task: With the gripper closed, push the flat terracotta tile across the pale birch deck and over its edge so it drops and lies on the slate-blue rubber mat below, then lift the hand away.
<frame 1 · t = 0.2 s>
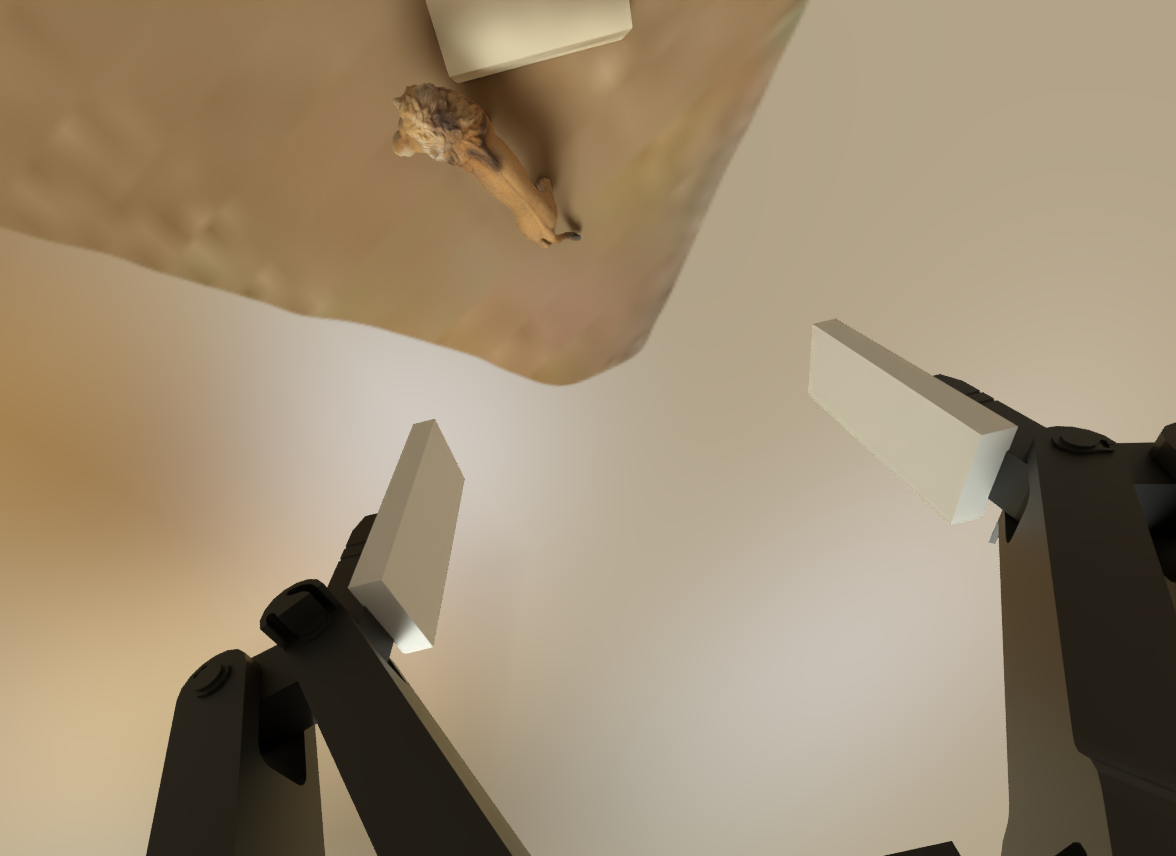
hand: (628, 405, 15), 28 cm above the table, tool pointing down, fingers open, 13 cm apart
lion figurine: (499, 175, 35), on the table
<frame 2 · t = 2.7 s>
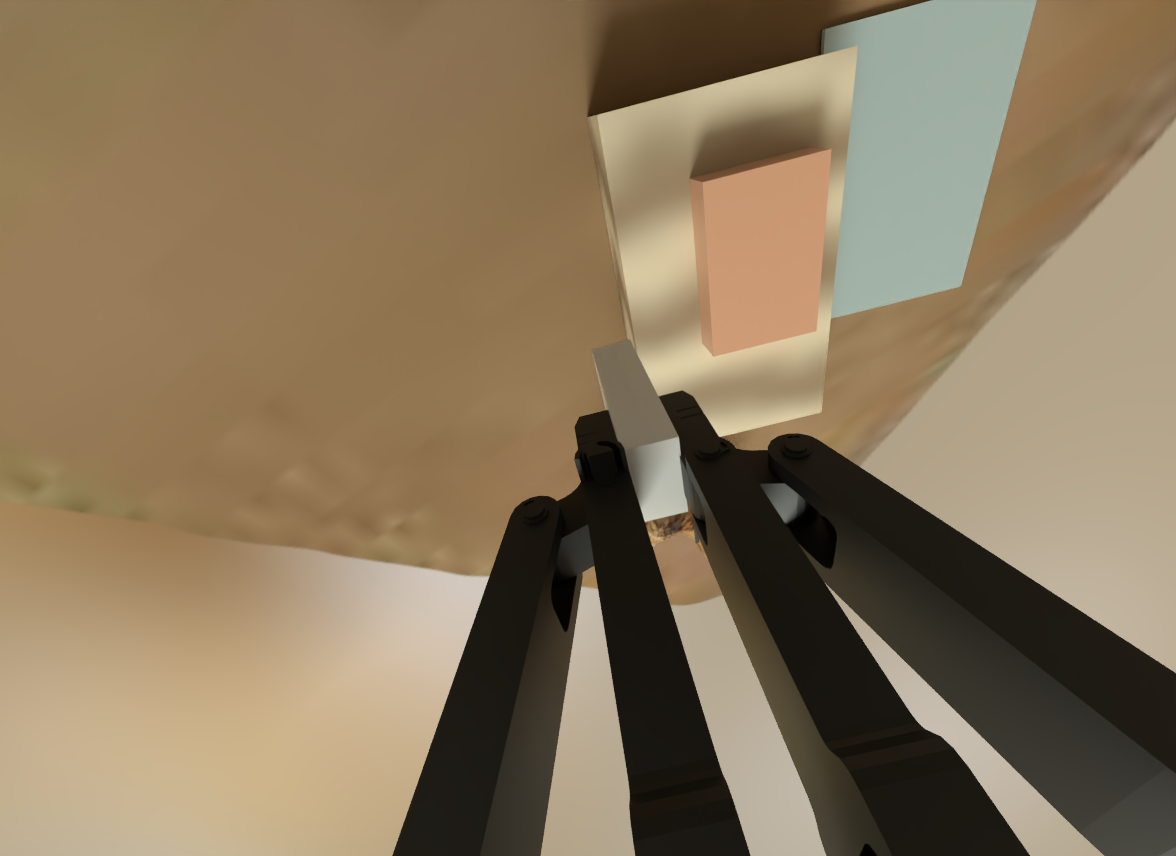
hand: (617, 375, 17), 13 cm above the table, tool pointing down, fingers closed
deck: (709, 276, 29), on the table
lion figurine: (668, 479, 39), on the table
tile: (749, 255, 24), point 4 cm above the table, touching deck
mat: (900, 178, 27), on the table
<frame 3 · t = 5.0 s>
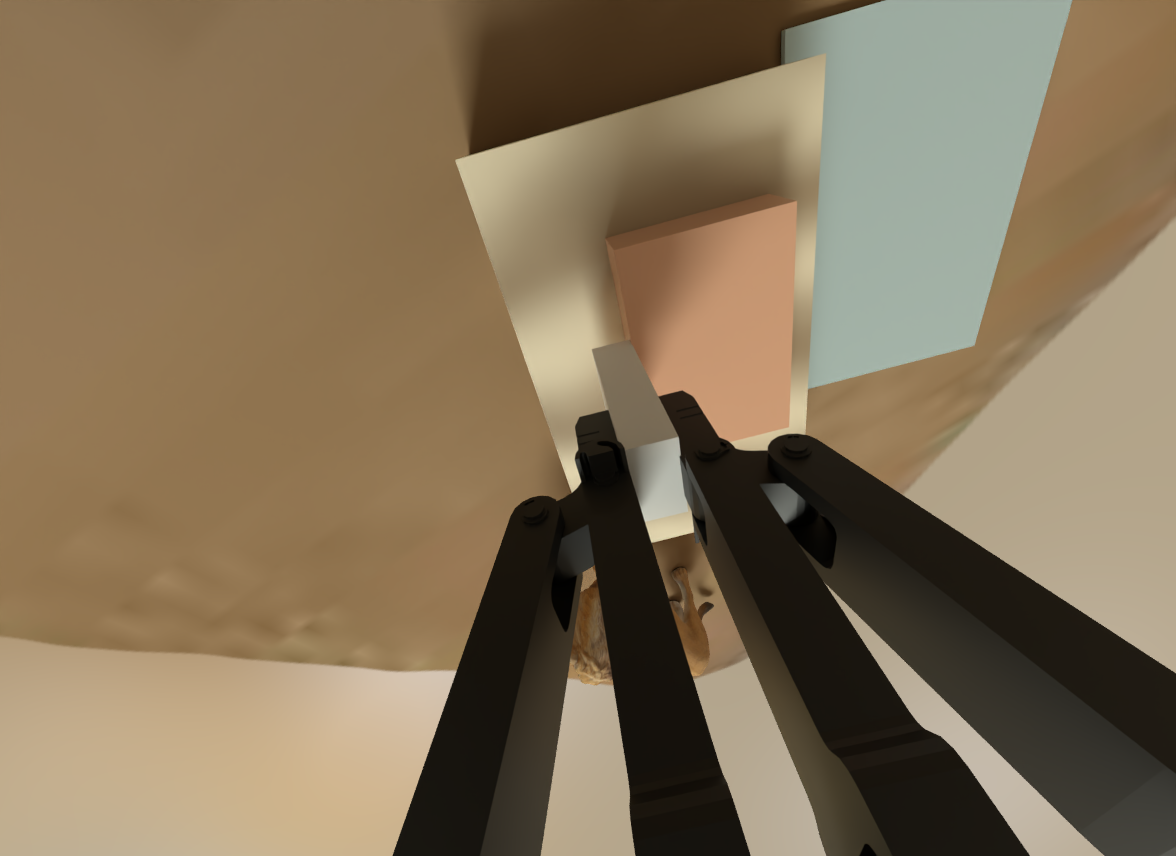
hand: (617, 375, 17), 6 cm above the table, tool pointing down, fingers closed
deck: (654, 344, 23), on the table
lion figurine: (632, 568, 33), on the table
tile: (697, 331, 18), point 4 cm above the table, touching gripper
mat: (894, 219, 21), on the table
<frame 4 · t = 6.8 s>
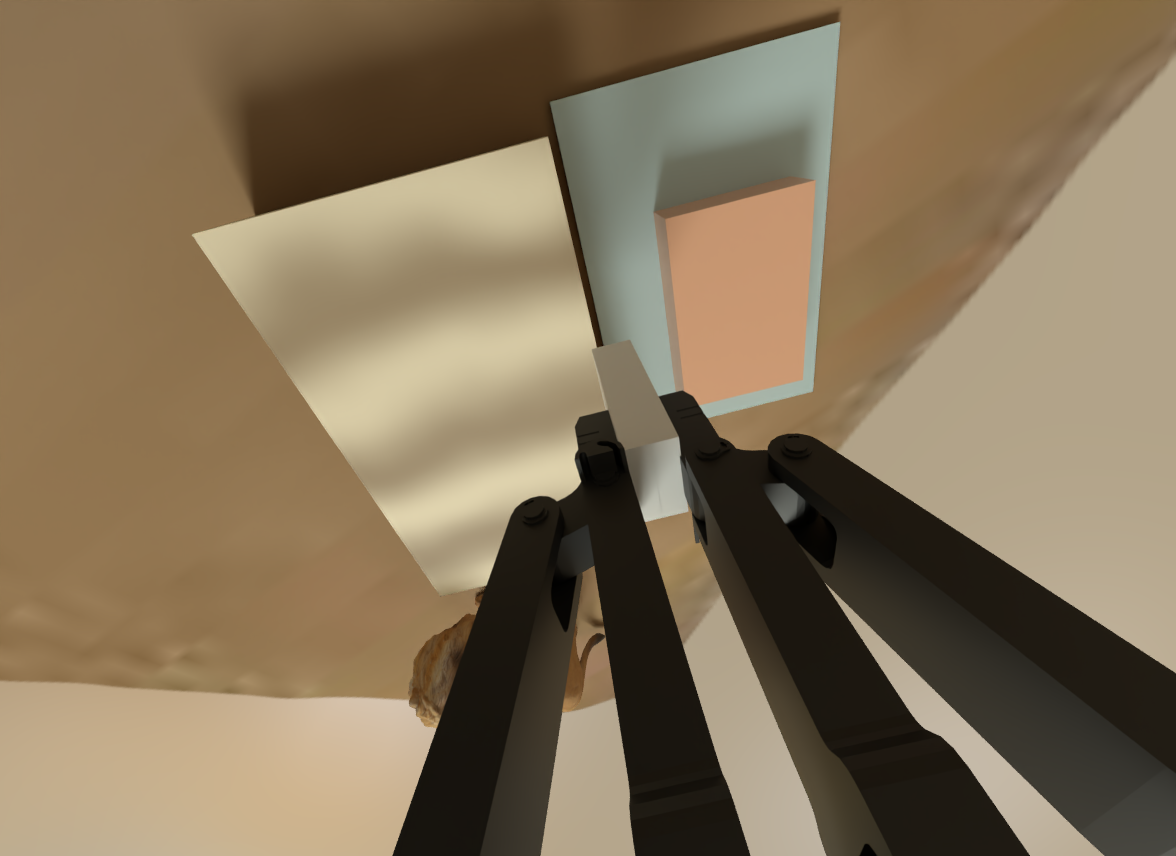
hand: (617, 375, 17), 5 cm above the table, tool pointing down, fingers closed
deck: (485, 390, 23), on the table
lion figurine: (518, 602, 33), on the table
tile: (742, 309, 20), point 2 cm above the table, tilted 180°, touching mat
mat: (706, 274, 21), on the table
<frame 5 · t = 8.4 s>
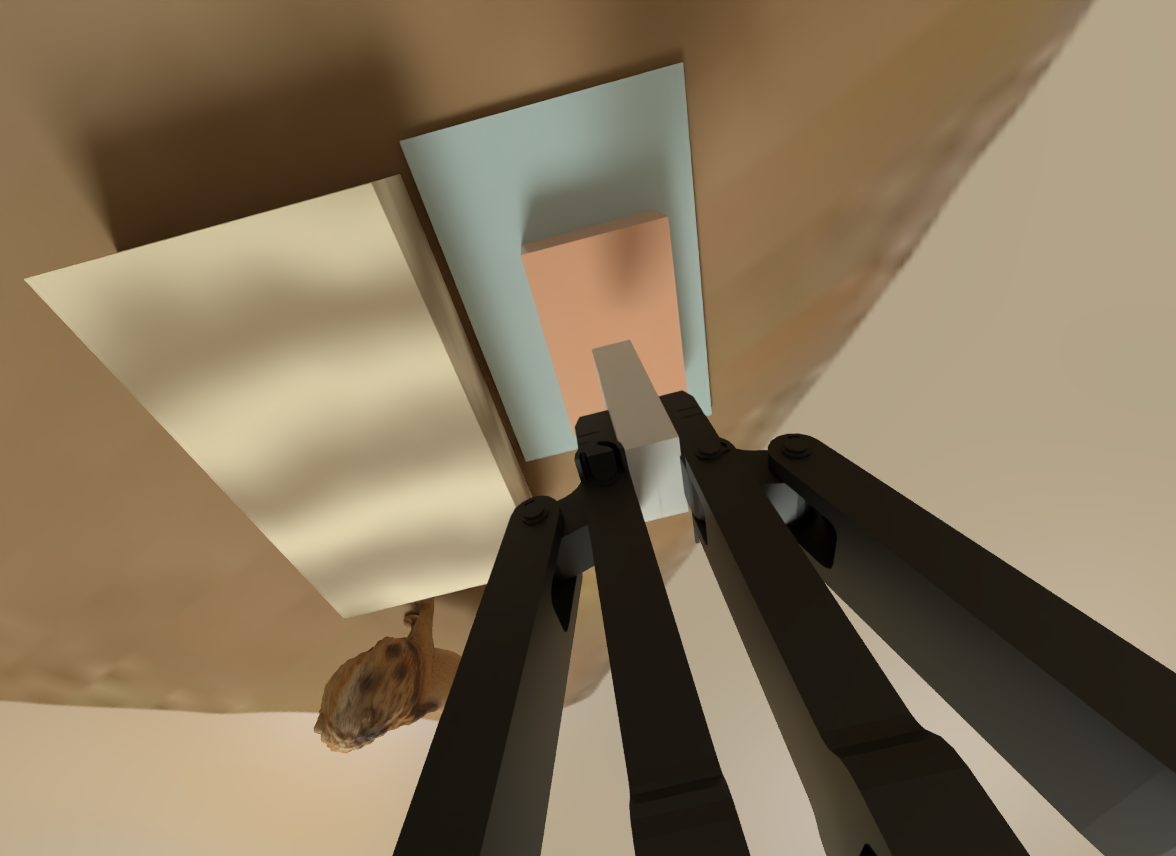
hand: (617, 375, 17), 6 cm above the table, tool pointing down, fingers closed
deck: (378, 416, 23), on the table
lion figurine: (449, 621, 34), on the table
tile: (614, 339, 20), point 2 cm above the table, tilted 180°, touching mat
mat: (586, 303, 21), on the table
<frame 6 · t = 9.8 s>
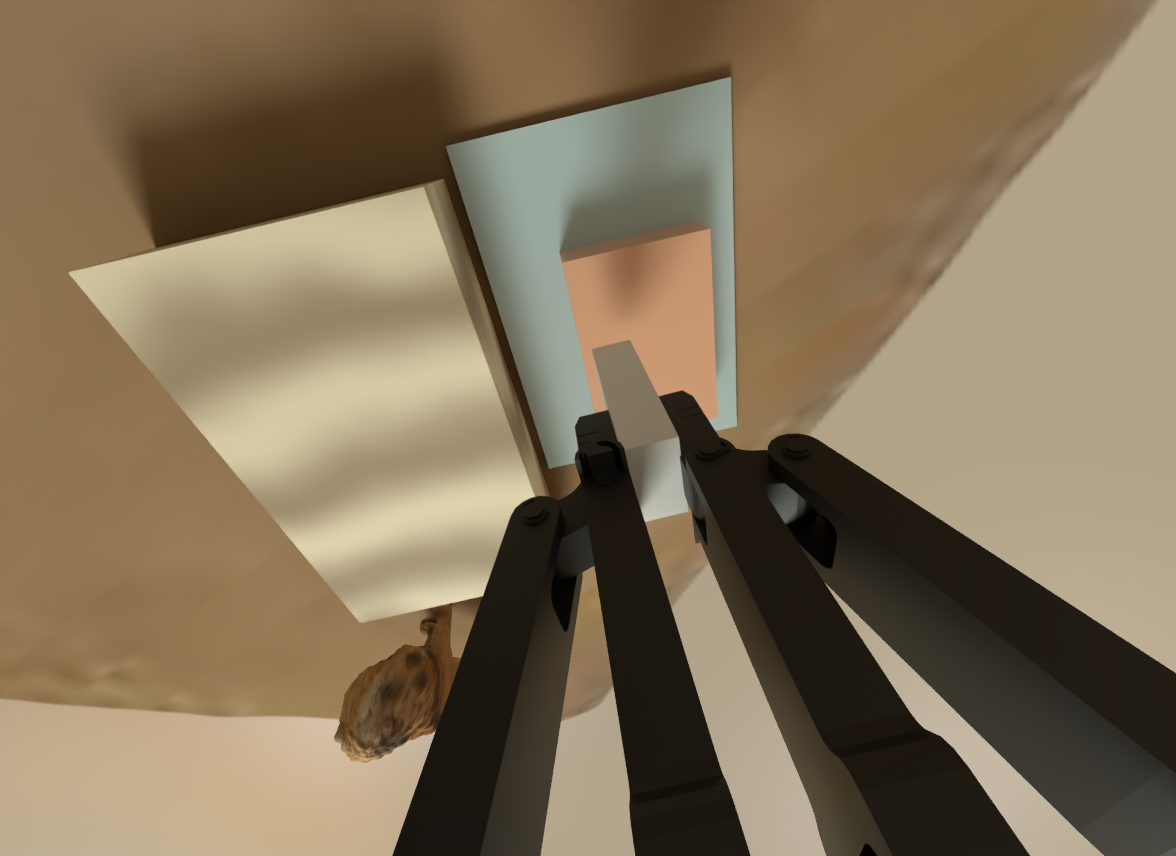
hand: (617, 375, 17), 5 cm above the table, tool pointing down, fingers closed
deck: (404, 419, 23), on the table
lion figurine: (464, 629, 34), on the table
tile: (649, 349, 20), point 2 cm above the table, tilted 180°, touching mat
mat: (619, 312, 21), on the table
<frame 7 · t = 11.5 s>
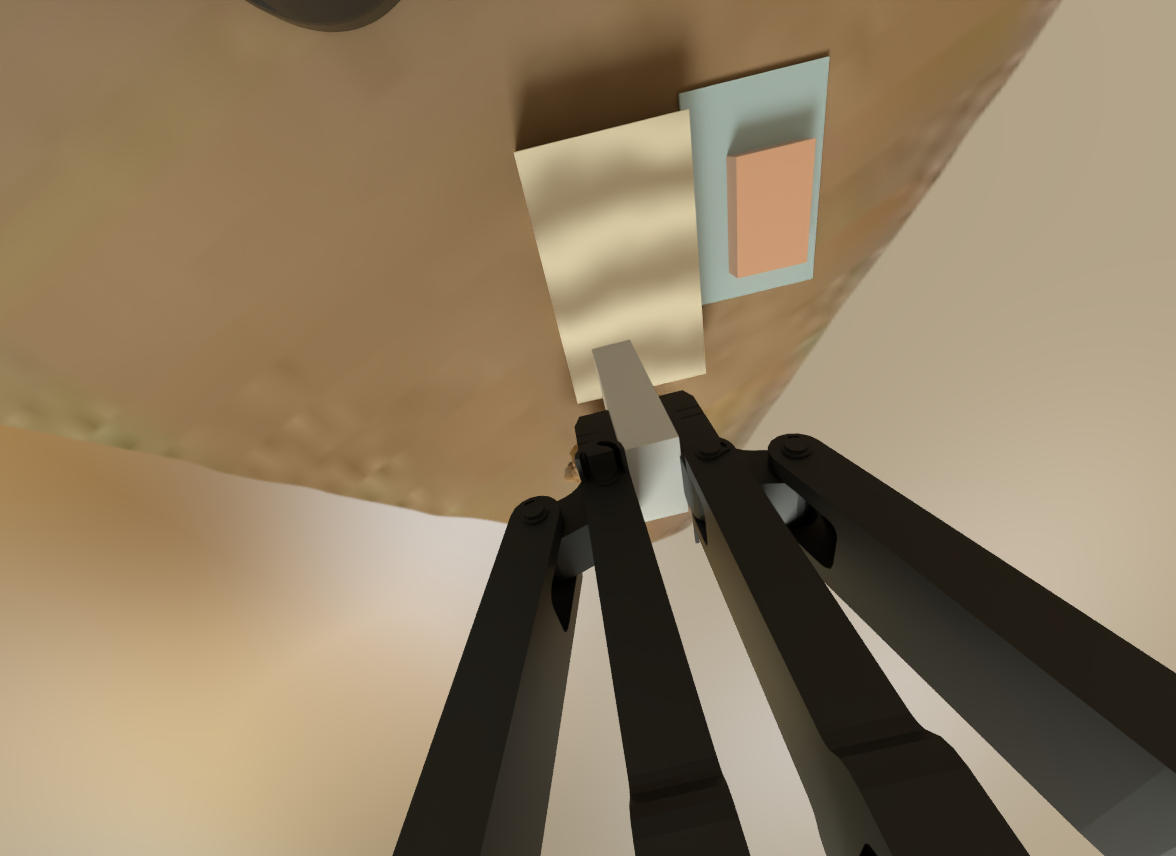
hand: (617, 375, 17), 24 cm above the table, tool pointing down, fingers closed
deck: (616, 267, 38), on the table
lion figurine: (616, 446, 49), on the table
tile: (774, 213, 35), point 2 cm above the table, tilted 180°, touching mat
mat: (752, 196, 37), on the table
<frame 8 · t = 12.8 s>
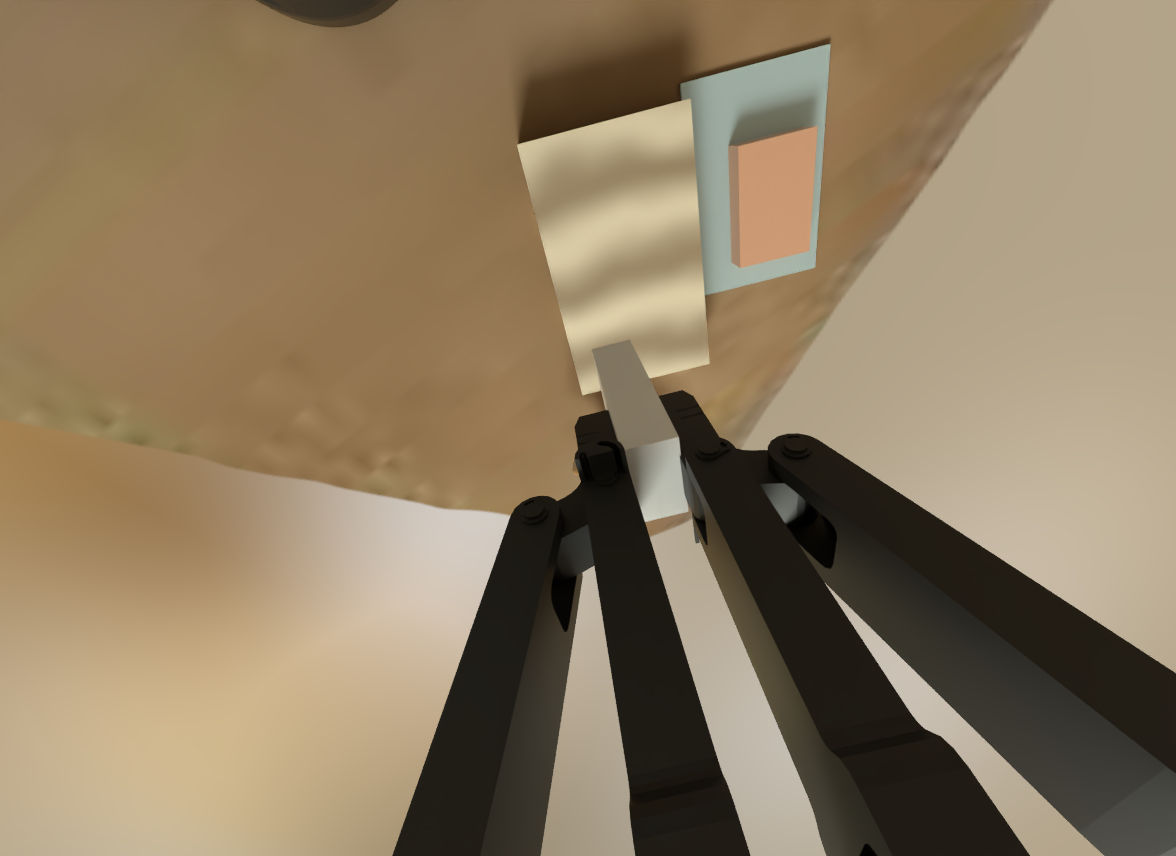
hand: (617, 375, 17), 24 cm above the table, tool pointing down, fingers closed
deck: (619, 259, 39), on the table
tile: (776, 202, 35), point 2 cm above the table, tilted 180°, touching mat
mat: (754, 186, 37), on the table
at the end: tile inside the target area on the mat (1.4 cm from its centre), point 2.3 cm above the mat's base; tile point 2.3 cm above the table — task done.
